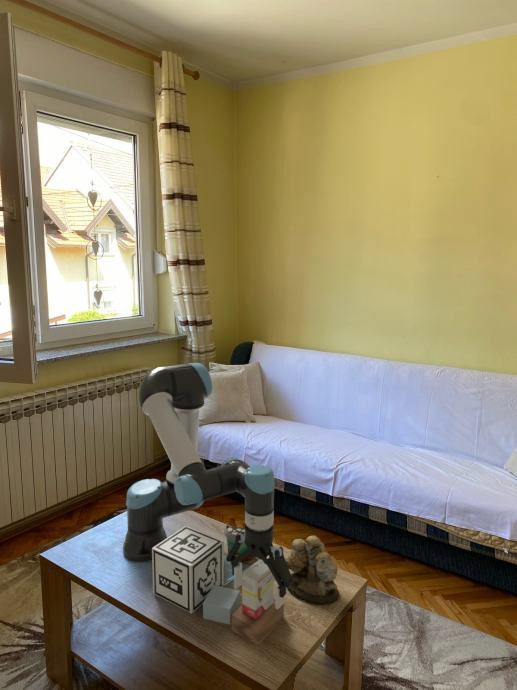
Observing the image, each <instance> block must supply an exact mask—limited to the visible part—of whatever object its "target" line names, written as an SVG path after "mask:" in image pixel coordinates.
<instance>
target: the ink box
mask: <svg viewBox="0 0 517 690" xmlns="http://www.w3.org/2000/svg"><path fill="white" fill-rule="evenodd" d="M274 581H275V578H274V576H273V575H272V573H271V571H270V569H269V568H268V566H267V564H265V563H264V562H263V560H260V559H258V560H257V561H256V562H254V563H253V564H251V565H250V566H249V567H247V568H246V569H245V570H242V585H241V590H242V591H241V606H242V613H244V614H246V615H248V616H250V617H252V618H254V619H257V618H258V617H259V616H260V615H261V614H262V613H263V612H264V611H265V610H266V609H268V608H269V607H270V606H271V605H272V604H273V603H274V599H275V597H274V596H275V595H274V591H275V590H274V589H275V587H274V586H275V584H274Z"/></svg>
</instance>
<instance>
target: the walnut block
mask: <svg viewBox="0 0 517 690" xmlns="http://www.w3.org/2000/svg"><path fill="white" fill-rule="evenodd" d="M275 606H276V598H274V603H273V604H272V605H271V606H270V607H269V608H268V609H266V610H265V611H264V612H263V613H262V614H261V615H260V616H259V617H258V618H257V619H254V618H252V617H250V616H248V615H246V614H244V613H242V605H240V606H239V608H238V609H237V610H236V611H235V612H234V613H233V614H232V622H231V631H233V632H235V633H236V634H239V635H240V636H242V637H243V638H245V639H247V640H249V641H251V643H254V644H256V645H258V646H259V645H260V644H261V643H262V642H263V641H264V640H265V639H266V637H267V636H268V635H269V634H270V633H272V631H273V630H274V629H276V627H277V626H278V625H279V624H280V623H281V622H282V620H284V616H285V615H284V611H285V603H284V602H283V604H282V605H281V607H280V608H279V609H276V608H275Z"/></svg>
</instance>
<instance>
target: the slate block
mask: <svg viewBox="0 0 517 690" xmlns="http://www.w3.org/2000/svg"><path fill="white" fill-rule="evenodd" d="M240 603H241V591H240V590H239V589H234V588H229V587H225V586H222V587H221V586H216V585H214V586H213V587H212V589H211V591H210V592H209V594H208V596H207V597H206V599H205V600H204V602H203V604H202V618H203V619H205V620H209V621H213V622H217V623H221V624H225V625H226V624H227V625H228V626H230V625H232V614H233V613H234V612H235V611H236V610H237V609H238V608H239V607H241V604H240Z"/></svg>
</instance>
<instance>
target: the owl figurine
mask: <svg viewBox="0 0 517 690" xmlns="http://www.w3.org/2000/svg"><path fill="white" fill-rule="evenodd" d="M285 560H286V563H287V566H288V568H289V571H292V573H290V574H291V576H292V579H293V583H292V584H291V585H290V586H289V587H288V588H286V590H287V591H288V592H289V593H291V595H293V596H294V597H296V598H297V599H299V600H301V601H303V602H306V603H307V604H312V605H318V606H326V604H327V605H329V604H330V605H331V603H332V604H334V603H336V602H337V601H338V599H339V597H340V594H339V589H338V585H337V584H336V583H335V579H336V578H337V575H338V563H336V561H335V560H334V559H333V558H332V556H331V554H329V553H328V552H327V551H326V547H325V544H324V543H323V542H322V541H321V539H320V538H319V537H317V535H310V536H308V537H307V538H306V539H305V540H304V539H302V538H295V539H294V540H292V544H291V551H290V554H289V555H288V558H285ZM336 600H337V601H336Z"/></svg>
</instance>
